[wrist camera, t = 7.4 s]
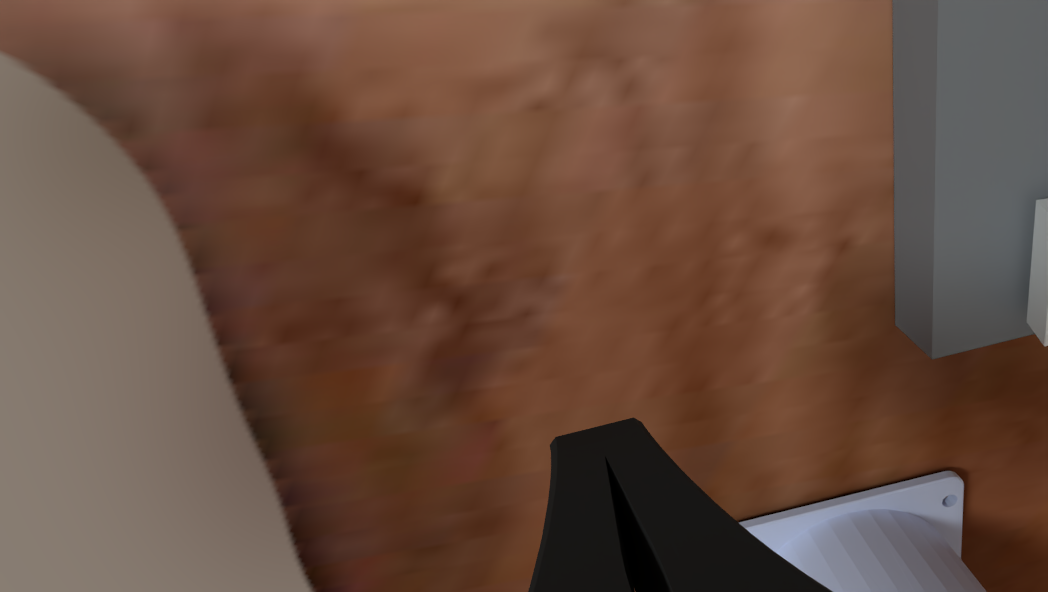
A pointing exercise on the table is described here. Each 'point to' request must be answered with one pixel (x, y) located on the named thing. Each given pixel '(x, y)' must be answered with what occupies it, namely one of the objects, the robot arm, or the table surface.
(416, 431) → the table surface
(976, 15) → the panel
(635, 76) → the table surface
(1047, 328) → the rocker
